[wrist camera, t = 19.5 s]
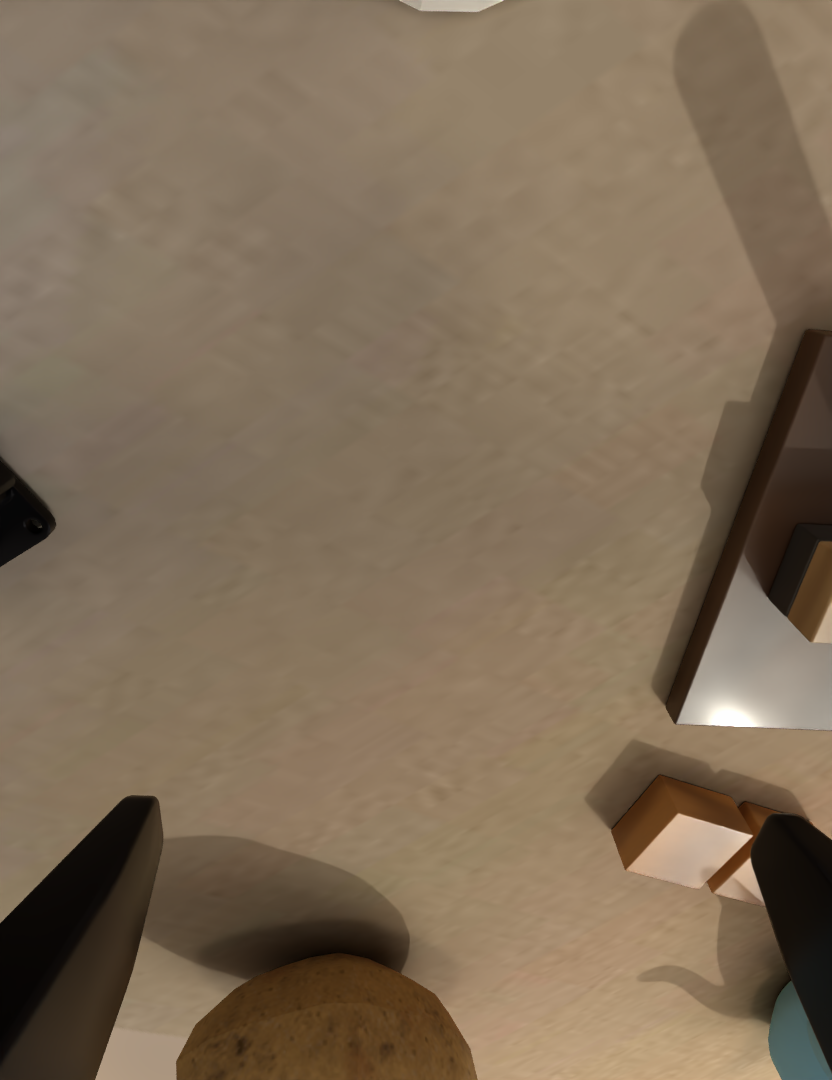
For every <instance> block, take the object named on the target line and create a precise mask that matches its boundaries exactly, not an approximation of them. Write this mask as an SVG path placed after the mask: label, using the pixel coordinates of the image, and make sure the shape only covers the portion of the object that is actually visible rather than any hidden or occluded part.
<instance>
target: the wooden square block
mask: <svg viewBox="0 0 832 1080" xmlns="http://www.w3.org/2000/svg"><path fill="white" fill-rule="evenodd" d="M738 809H739V811H740V813H741V814H742V816H743V818H744V820H745V821H746V823H747V825H748V826H749V828H750V830H751V832H752V833H753V836H752V837H751V838H750V839H749V840H748V841H747V842H746V843H745V844H744V845H743V846H742V847H741V848H740V849H739V850H738V851H737V852H736V853H735V854H734V855H733V856H732V857H731V858H730V859H729V860H728V861H727V862H726V863H725V864H724V865H723V866H722V867H721V868H720V869H719V870H718V871H717V872H716V873H715V874H714V875H713V876H712V877H711V878H710V879H709V880H708V881H707V883H708V885H709V888H710V890H711V892H712V893H713V894H717V895H721V896H725V897H729V898H732V899H736V900H740V901H744V902H747V903H751V904H755V905H759V906H763V907H766V906H765V903H764V900H763V897H762V894H761V891H760V888H759V885H758V882H757V880H756V877H755V874H754V871H753V868H752V864H751V859H750V851H751V846H752V844H753V842H754V840H755V838H756V837H757V835H758V833H759V831H760V829H761V827H762V825H763V823H764V821H765V819H766V818H767V817H768V816H769V815H771V814H773V813H780V812H777V811H774V810H770V809H767V808H764V807H761V806H758V805H754V804H751V803H748V802H744V803H743V804H742V805H741V806H740V807H739V808H738ZM808 822H809V821H808ZM809 823H811V822H809ZM811 824H812V823H811ZM812 825H813V824H812ZM813 826H814V825H813Z"/></svg>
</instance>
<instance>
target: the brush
mask: <svg viewBox="0 0 832 1080" xmlns="http://www.w3.org/2000/svg"><path fill="white" fill-rule="evenodd" d="M768 599H769V600H770V601H771V603H772V604H773V605H774V606H775V607H776V608H777V609H778V610H779V611H780V612H781V613H782V614H783V615H784V616H785V617H788V620H789V621H790V622H791V623H792V624H793V625H794V626H795V627H796V628H797V629H798V630H799V631H800V632H801V633H802V634H803V635H804V637H805V638H806V639H807V640H808V641H809V642H811V643H831V644H832V525H812V524H797V526H796V528H795V531H794V533H793V536H792V538H791V541H790V543H789V546H788V548H787V551H786V553H785V556H784V558H783V561H782V563H781V566H780V569H779V571H778V574H777V576H776V579H775V581H774V584H773V586H772V589H771V591H770V594H769V596H768Z"/></svg>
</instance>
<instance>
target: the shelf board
mask: <svg viewBox="0 0 832 1080" xmlns="http://www.w3.org/2000/svg"><path fill="white" fill-rule="evenodd" d="M797 524H812V525H832V331H823V330H813V329H808V330H806V331H805V334H804V337H803V339H802V342H801V345H800V347H799V350H798V353H797V355H796V358H795V361H794V363H793V366H792V369H791V371H790V374H789V377H788V380H787V382H786V385H785V388H784V390H783V393H782V396H781V398H780V401H779V404H778V406H777V409H776V412H775V414H774V417H773V420H772V422H771V425H770V428H769V431H768V433H767V436H766V439H765V441H764V444H763V447H762V449H761V452H760V455H759V457H758V460H757V463H756V465H755V468H754V471H753V473H752V476H751V479H750V481H749V484H748V487H747V490H746V492H745V495H744V498H743V500H742V503H741V506H740V508H739V511H738V514H737V516H736V519H735V522H734V524H733V527H732V530H731V532H730V535H729V538H728V541H727V543H726V546H725V549H724V551H723V554H722V557H721V559H720V562H719V565H718V567H717V570H716V573H715V575H714V578H713V581H712V583H711V586H710V589H709V591H708V594H707V597H706V600H705V602H704V605H703V608H702V610H701V613H700V616H699V618H698V621H697V624H696V626H695V629H694V632H693V634H692V637H691V640H690V642H689V645H688V648H687V651H686V653H685V656H684V659H683V661H682V664H681V667H680V669H679V672H678V675H677V677H676V680H675V683H674V685H673V688H672V691H671V693H670V696H669V699H668V701H667V704H666V710H667V711H668V713H669V715H670V717H671V719H672V720H673V722H674V724H678V725H702V726H727V727H752V728H776V729H801V730H826V731H832V644H831V643H811V642H809V641H808V640H807V639H806V638H805V637H804V635H803V634H802V633H801V632H800V631H799V630H798V629H797V628H796V627H795V626H794V625H793V624H792V623H791V622H790V621H789V620H788V617H785V616H784V615H783V614H782V613H781V612H780V611H779V610H778V609H777V608H776V607H775V606H774V605H773V604H772V603H771V601H770V600H769V599H768V596H769V594H770V591H771V589H772V586H773V584H774V581H775V579H776V576H777V574H778V571H779V569H780V566H781V563H782V561H783V558H784V556H785V553H786V551H787V548H788V546H789V543H790V541H791V538H792V536H793V533H794V531H795V528H796V526H797Z"/></svg>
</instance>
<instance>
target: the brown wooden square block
mask: <svg viewBox="0 0 832 1080" xmlns="http://www.w3.org/2000/svg"><path fill="white" fill-rule="evenodd" d="M611 833H612V835H613V838H614V841H615V844H616V846H617V849H618V852H619V855H620V857H621V860H622V863H623V866H624V868H625V870H626V871H630V872H633V873H637V874H641V875H645V876H649V877H652V878H656V879H660V880H664V881H667V882H671V883H675V884H679V885H683V886H686V887H690V888H694V889H700V888H701V887H702V886H703V885H704V884H705V883H706V882H707V881H708V880H709V879H710V878H711V877H712V876H713V875H714V874H715V873H716V872H717V871H718V870H719V869H720V868H721V867H722V866H723V865H724V864H725V863H726V862H727V861H728V860H729V859H730V858H731V857H732V856H733V855H734V854H735V853H736V852H737V851H738V850H739V849H740V848H741V847H742V846H743V845H744V844H745V843H746V842H747V841H748V840H749V839H750V838H751V837H752V836H753V833H752V832H751V830H750V828H749V826H748V825H747V823H746V821H745V820H744V818H743V816H742V814H741V813H740V811H739V809H738V808H737V806H736V804H735V802H734V801H733V799H732V798H731V797H730V796H726V795H723V794H720V793H717V792H713V791H710V790H707V789H704V788H701V787H697V786H694V785H691V784H688V783H685V782H681V781H678V780H675V779H672V778H668V777H665V776H662V775H659V776H658V777H657V778H656V779H655V780H654V782H653V783H652V784H651V785H650V786H649V787H648V789H647V790H646V791H645V792H644V793H643V794H642V796H641V797H640V798H639V799H638V800H637V801H636V803H635V804H634V805H633V806H632V807H631V808H630V809H629V811H628V812H627V813H626V814H625V815H624V816H623V818H622V819H621V820H620V821H619V822H618V823H617V825H616V826H615V827H614V828H613V829H612V830H611Z"/></svg>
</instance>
